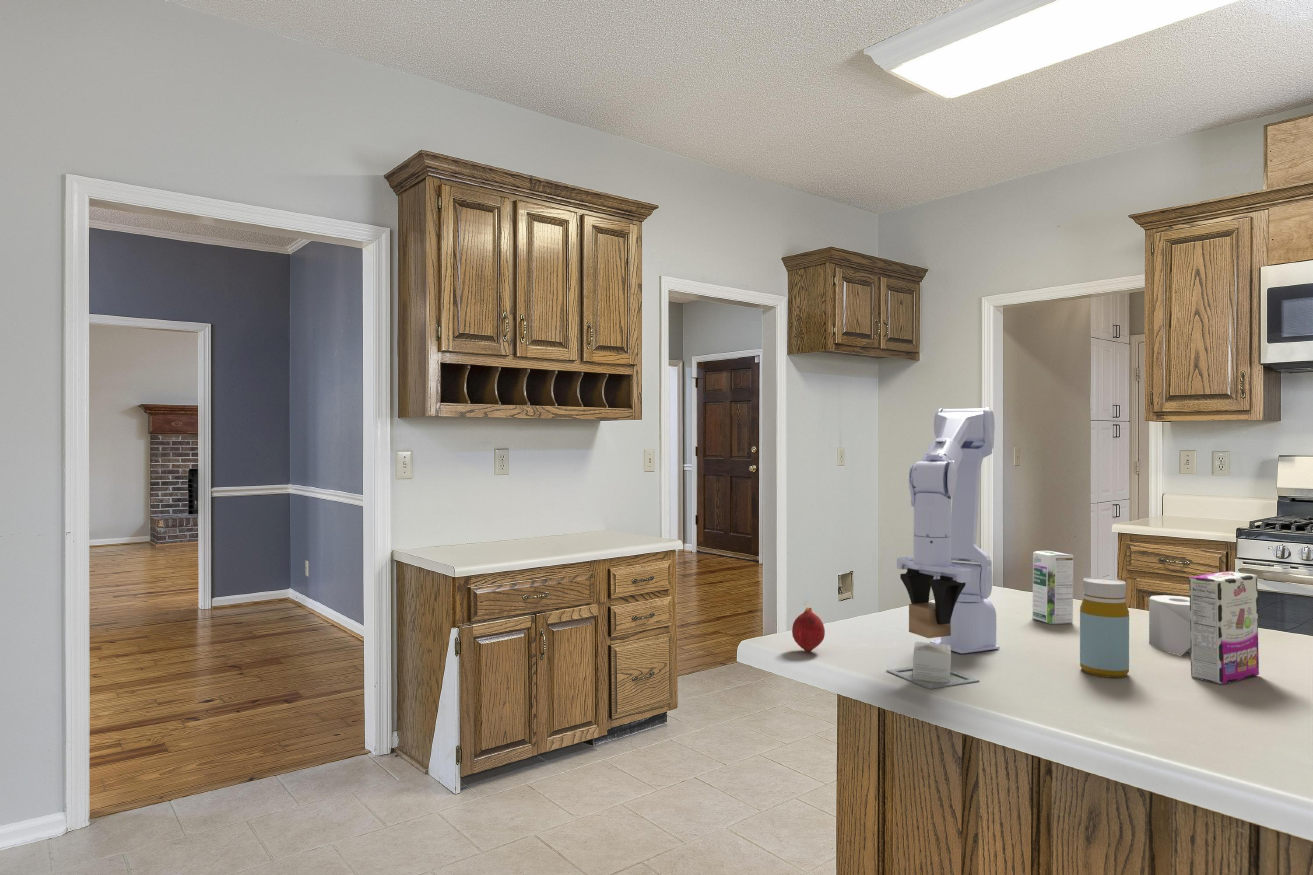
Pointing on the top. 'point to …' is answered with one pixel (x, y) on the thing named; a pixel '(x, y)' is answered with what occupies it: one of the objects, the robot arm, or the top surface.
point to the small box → (932, 662)
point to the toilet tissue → (1170, 623)
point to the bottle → (1104, 628)
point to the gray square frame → (969, 680)
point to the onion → (808, 630)
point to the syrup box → (1052, 587)
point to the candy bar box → (1224, 627)
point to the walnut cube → (926, 621)
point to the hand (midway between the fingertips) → (931, 620)
